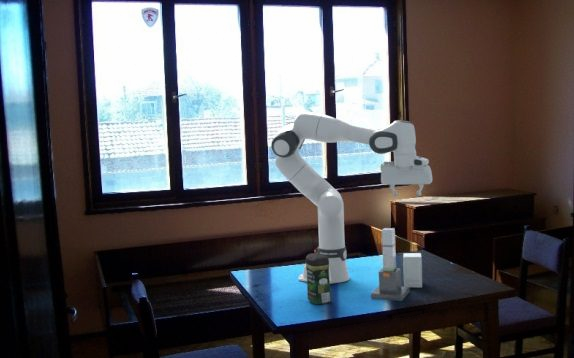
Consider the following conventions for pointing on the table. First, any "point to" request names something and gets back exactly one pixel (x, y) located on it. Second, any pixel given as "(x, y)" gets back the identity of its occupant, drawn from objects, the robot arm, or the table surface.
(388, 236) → the column
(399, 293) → the stand
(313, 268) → the coffee jar
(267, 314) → the table surface
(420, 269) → the supplement box
